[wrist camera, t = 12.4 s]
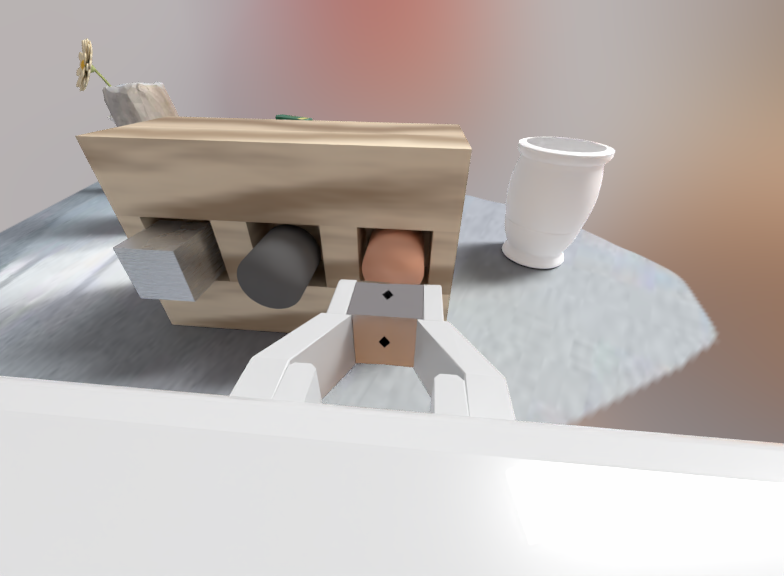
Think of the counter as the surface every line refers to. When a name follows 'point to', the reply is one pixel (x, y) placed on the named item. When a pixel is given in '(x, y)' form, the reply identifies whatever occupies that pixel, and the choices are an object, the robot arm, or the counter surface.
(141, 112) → the paper wrapped package
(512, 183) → the jar
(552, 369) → the counter surface
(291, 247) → the dark grey cylinder
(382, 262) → the terracotta button
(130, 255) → the gray metal cube
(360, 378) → the counter surface
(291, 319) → the wooden holder box
